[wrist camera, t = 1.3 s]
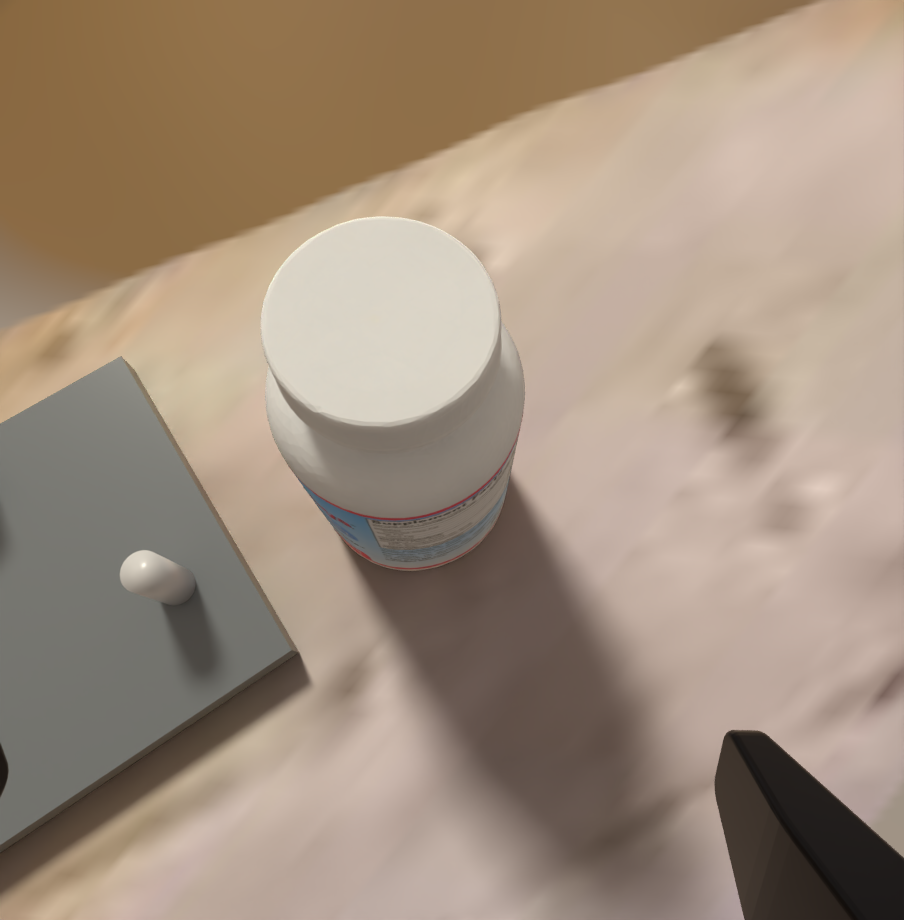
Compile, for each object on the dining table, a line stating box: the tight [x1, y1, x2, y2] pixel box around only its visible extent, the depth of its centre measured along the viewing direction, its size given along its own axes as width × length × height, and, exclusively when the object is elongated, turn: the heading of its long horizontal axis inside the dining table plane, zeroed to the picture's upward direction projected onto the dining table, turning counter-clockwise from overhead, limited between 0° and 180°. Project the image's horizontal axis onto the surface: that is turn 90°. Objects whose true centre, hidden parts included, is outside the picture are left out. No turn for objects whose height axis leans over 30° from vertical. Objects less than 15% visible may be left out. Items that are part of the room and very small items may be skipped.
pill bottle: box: [261, 217, 525, 571], centre depth 19 cm, size 6×6×11 cm
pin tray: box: [0, 357, 299, 853], centre depth 21 cm, size 12×12×4 cm
